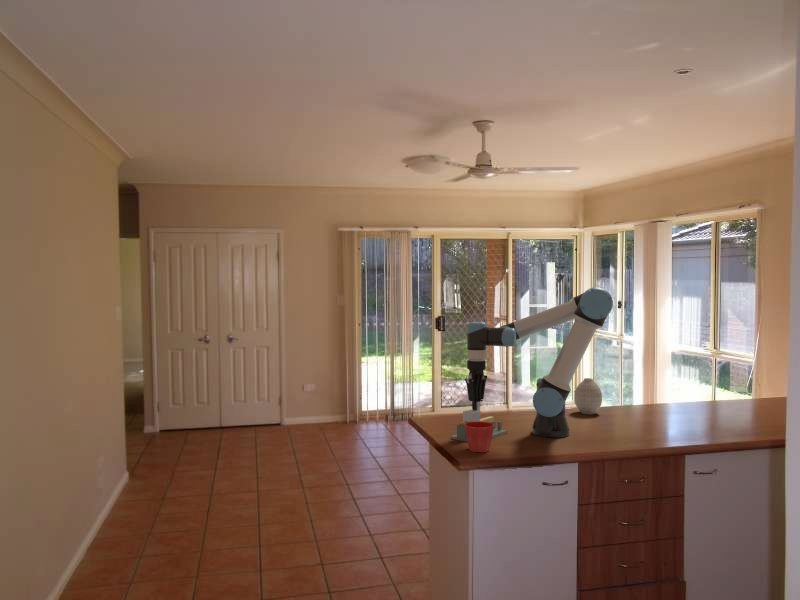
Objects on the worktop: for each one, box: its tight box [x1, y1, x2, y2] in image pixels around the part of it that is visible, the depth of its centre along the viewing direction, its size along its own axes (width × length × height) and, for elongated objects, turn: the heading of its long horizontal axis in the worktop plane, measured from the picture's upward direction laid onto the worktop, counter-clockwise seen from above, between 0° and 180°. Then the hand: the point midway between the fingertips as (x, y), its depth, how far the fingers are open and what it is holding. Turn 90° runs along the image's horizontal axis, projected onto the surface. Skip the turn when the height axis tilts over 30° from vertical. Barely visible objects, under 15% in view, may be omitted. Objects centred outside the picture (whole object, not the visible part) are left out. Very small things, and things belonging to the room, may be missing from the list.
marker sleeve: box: [462, 408, 481, 423], centre depth 257 cm, size 5×5×8 cm
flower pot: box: [465, 421, 494, 453], centre depth 238 cm, size 11×11×10 cm
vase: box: [573, 377, 603, 416], centre depth 305 cm, size 13×13×17 cm
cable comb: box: [450, 415, 508, 443], centre depth 260 cm, size 12×23×7 cm, turn 139°
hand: (476, 417), depth 259 cm, fingers closed
